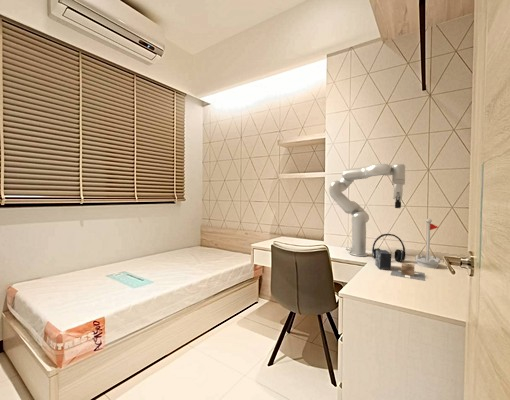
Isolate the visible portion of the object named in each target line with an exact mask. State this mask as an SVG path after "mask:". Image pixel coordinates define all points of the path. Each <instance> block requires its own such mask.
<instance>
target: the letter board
mask: <svg viewBox="0 0 510 400" xmlns="http://www.w3.org/2000/svg"><path fill="white" fill-rule="evenodd" d="M401 269H402V268H395V267H391V272H390V276H392V277H399V278H404V279H411V280H416V281H422V282H426V274H425V272H421V271H415V270H414V276H408V275H402V274H401Z"/></svg>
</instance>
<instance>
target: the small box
mask: <svg viewBox="0 0 510 400" xmlns="http://www.w3.org/2000/svg"><path fill="white" fill-rule="evenodd" d="M375 249H376V259H375V262H374V263H375V264H374V265H375V266H376V267H377V268H378V270H380V271H381V270H382V271H392V267H391V266H392V253H391V252H389V251H388V250H386V249H380V250H378V249H377V248H375Z"/></svg>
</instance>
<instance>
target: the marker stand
mask: <svg viewBox="0 0 510 400" xmlns="http://www.w3.org/2000/svg"><path fill="white" fill-rule="evenodd" d="M425 221H426V252H425V253H426V254H421V255H419V254H415V258H414V259H415V260H416V265H417V266H419V267H424V268H427V269H436V268H437V267H438V268H439V265H440V264H441V258H440V257H439V256H436V258H435V256H434V255H430V242H431V241H430V240H431V239H430V238H431V231H432V230H434V229H438V228H439V226H438V225H435V224H433V223H432V218H426V219H425Z"/></svg>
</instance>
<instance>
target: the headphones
mask: <svg viewBox="0 0 510 400" xmlns="http://www.w3.org/2000/svg"><path fill="white" fill-rule="evenodd" d="M386 236H388V237H389V236H391V237H394V238H396V239H397V240H398V241H399V242H400V244H401V245H402V249H399V248H397V249H395V251H394V261H396V262H403V261H405V259H406V248H405V245H404V244H405V243H404V241H402V239H401V238H400V237H399V236H397V235H396V234H393V233H382V234H380V235H379V236H377V238H375V240H374V242H373V244H372V247H371V249H372V251H371V253H372V254H371V255H372V258H373V259H374V260H376V249H378V250H381V249H380V248H378V247H377V248H375V246H376V243H377V241H378V240H379V239H381V238H382V237H386Z"/></svg>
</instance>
